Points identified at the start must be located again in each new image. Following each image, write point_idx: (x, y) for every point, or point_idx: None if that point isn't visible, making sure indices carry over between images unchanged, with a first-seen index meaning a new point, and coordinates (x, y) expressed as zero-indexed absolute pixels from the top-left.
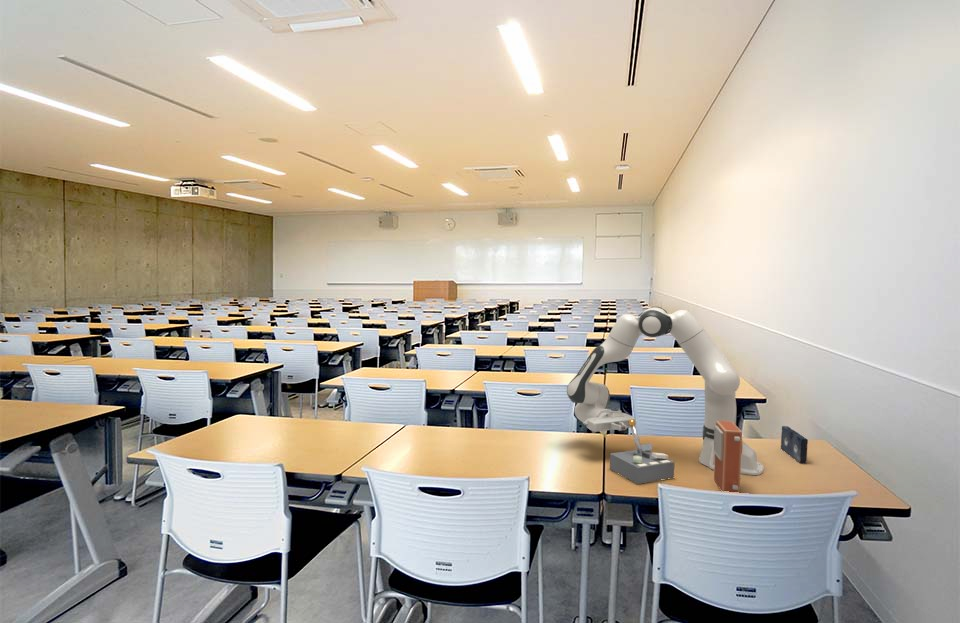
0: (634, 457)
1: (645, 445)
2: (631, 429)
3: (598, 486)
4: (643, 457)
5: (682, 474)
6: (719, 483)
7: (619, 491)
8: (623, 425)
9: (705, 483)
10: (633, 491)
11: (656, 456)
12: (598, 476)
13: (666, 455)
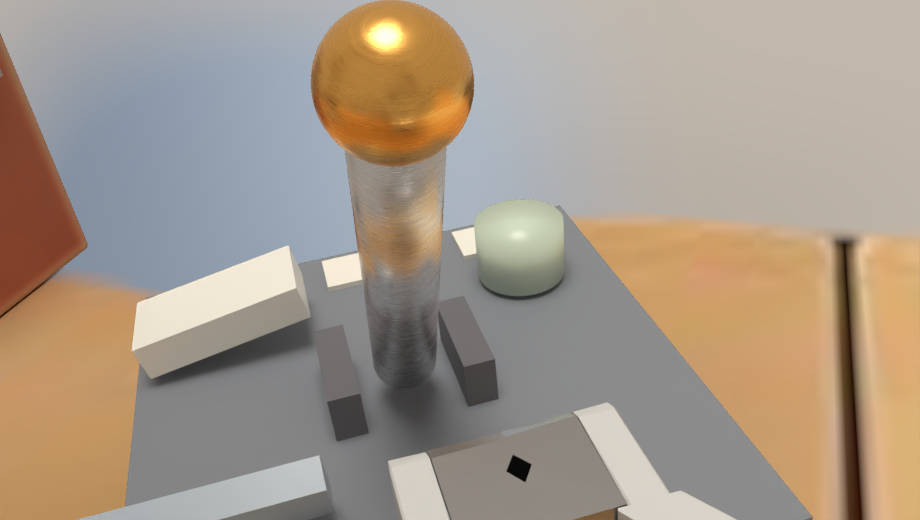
0: (558, 211)
1: (193, 495)
2: (444, 175)
3: (889, 301)
4: (379, 388)
5: (33, 492)
6: (21, 264)
7: (726, 250)
8: (472, 464)
9: (39, 346)
10: (626, 252)
11: (296, 264)
12: (912, 463)
13: (163, 294)
